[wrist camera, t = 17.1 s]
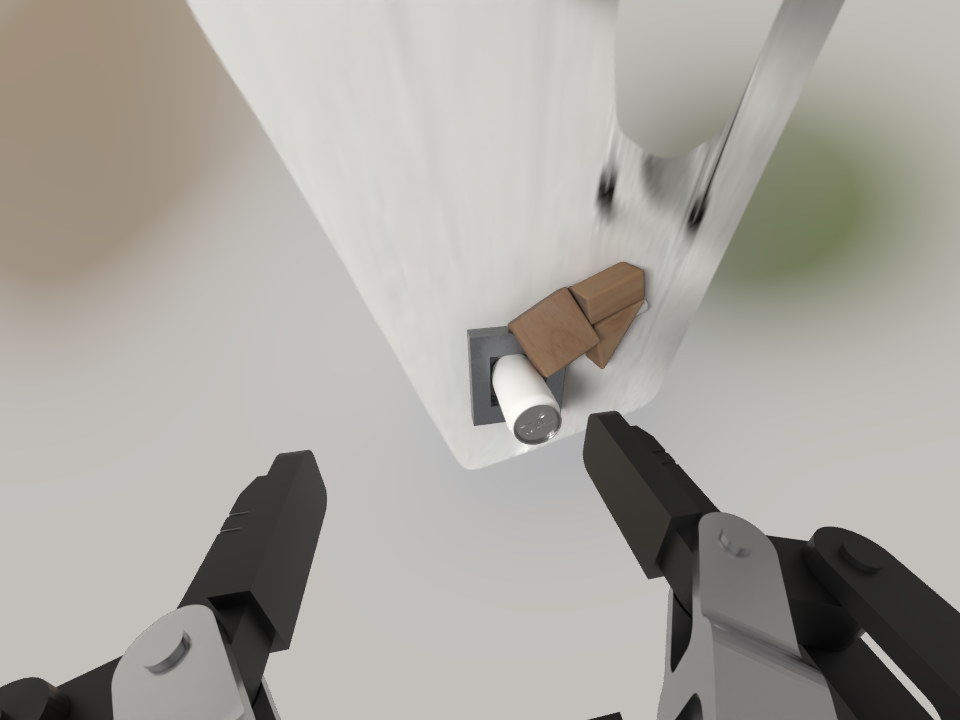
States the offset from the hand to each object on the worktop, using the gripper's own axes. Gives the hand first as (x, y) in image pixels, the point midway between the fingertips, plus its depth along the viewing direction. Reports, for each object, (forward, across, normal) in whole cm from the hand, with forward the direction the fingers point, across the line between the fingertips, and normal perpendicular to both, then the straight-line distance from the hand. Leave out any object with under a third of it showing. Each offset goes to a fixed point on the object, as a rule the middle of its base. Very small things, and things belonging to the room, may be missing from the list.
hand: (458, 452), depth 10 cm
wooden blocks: (+34, -19, +11) cm, 40 cm away
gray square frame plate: (+33, -10, +18) cm, 39 cm away
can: (+33, -10, +18) cm, 39 cm away
